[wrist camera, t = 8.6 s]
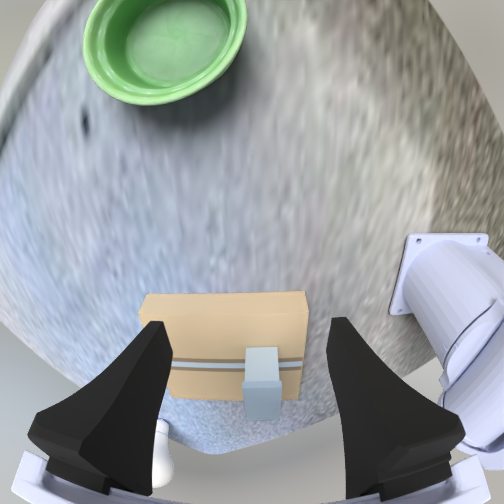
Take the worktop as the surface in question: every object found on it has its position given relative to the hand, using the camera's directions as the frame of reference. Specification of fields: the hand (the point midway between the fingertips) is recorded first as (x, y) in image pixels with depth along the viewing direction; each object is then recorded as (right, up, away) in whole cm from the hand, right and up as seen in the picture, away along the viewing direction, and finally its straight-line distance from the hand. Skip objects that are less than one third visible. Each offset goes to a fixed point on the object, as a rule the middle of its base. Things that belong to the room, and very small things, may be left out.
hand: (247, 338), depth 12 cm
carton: (-2, -5, +14) cm, 15 cm away
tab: (+1, -6, +12) cm, 13 cm away
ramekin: (-4, +17, +2) cm, 18 cm away
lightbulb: (-13, -20, +23) cm, 33 cm away
